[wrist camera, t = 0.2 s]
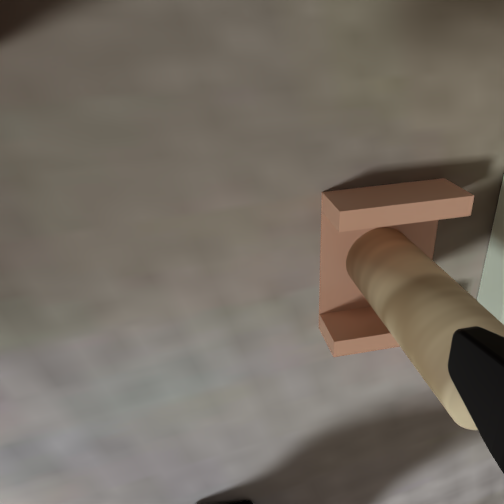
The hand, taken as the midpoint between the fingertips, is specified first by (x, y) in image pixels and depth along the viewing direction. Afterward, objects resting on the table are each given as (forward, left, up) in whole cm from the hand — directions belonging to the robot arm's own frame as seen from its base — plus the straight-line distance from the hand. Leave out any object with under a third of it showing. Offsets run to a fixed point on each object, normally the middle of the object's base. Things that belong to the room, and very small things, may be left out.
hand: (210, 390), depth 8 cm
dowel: (-6, -10, -14) cm, 18 cm away
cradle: (-6, -10, -14) cm, 18 cm away
